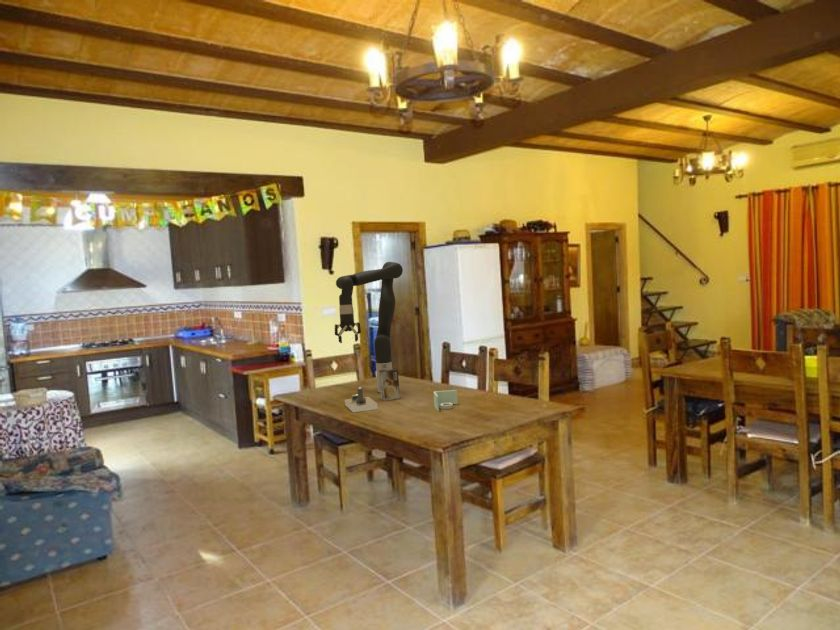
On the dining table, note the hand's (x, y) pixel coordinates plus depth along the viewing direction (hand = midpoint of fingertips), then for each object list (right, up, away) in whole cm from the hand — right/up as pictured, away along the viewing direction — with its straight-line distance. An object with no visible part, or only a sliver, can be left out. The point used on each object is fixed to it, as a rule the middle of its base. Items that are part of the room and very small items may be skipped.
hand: (348, 342), depth 330 cm
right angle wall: (+53, -32, -27) cm, 68 cm away
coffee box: (+23, -31, 0) cm, 39 cm away
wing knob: (+9, -30, -17) cm, 36 cm away
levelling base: (+8, -33, -16) cm, 38 cm away
